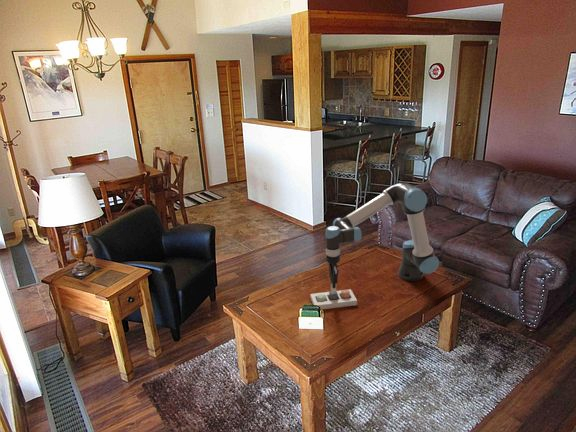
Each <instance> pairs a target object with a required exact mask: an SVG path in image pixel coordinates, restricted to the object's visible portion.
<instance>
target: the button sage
mask: <svg viewBox="0 0 576 432" xmlns="http://www.w3.org/2000/svg"><path fill="white" fill-rule="evenodd" d="M323 301H326V297H325V296H324V295H318V296H317V302H323Z"/></svg>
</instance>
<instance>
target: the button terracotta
mask: <svg viewBox="0 0 576 432" xmlns="http://www.w3.org/2000/svg"><path fill="white" fill-rule="evenodd" d="M341 290H342V291H341V299H347V298H349V297H350V292H349V291H348V290H349V289H341Z"/></svg>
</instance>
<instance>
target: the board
mask: <svg viewBox="0 0 576 432" xmlns="http://www.w3.org/2000/svg"><path fill="white" fill-rule="evenodd" d="M342 290H343V289H341V290H336V292H337V293H338V299H337V300H330V299H329V292H330V291H325V292H316V293H310V301H311V304H312V305H317V306H319V307H320V308H321V310H328V309H335V308H345V307H352V306H357V305H358V300H357V298H356V295H354V292H353V290H352V289H351V288H349V289H347V290H348V291H349V292H350V297H349V298H347V299H343V298H341V291H342ZM318 295H324V296H325V297H326V301H323V302H317V296H318Z"/></svg>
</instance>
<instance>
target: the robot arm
mask: <svg viewBox="0 0 576 432" xmlns="http://www.w3.org/2000/svg"><path fill="white" fill-rule="evenodd" d="M398 203H399V204H401V208H402V212H403V214H405V215H406V216H407V220H408V221H407V222H408V226H409V230H410V235H411V239H409V240H405V241H403V243H402V253H401V254H402V255H401V264H400V266H399V268H398V272H397V275H398V277H399V278H401V279H402V280H405V281H408V282H417V281H420V280H422V279H423V278H424V275H429V274H432V273H434V272H435V271H436V270H437V269H438V267H439V264H440V260H439V258H438V257H437V256H436V255H435V252H434V248H433V247H432V246H431V245H430V242H429V237H428V231H427V226H426V220H425V217H424V216H425V215H424V211H425V210H426V207H427V206H426V205H427V203H428V197H427V195H426V193H425V192H424V191H423V190H422V189H420V188H418V187H416V186H414V185H412V184H410V183H408V182H398V183H395V184H392V185H391V186H389V187H387V188H385V189H384V190H383V191H382V193H381V194H379V195H377V196H376V197H374V198H373V199H371V200H369V201H368V202H366V203H365V204H363V205H361V206H360V207H359V208H357V209H355V210H353V211H352V212H350V213H349V214H347V215H346V216H344V217H337V218H335V219H334V220H333V222H332V225H330V226H327V227H326V228H325V234H324V235H325V249H324V251H325V253H326V255H325V261H326V263H328V274H329V275H328V277H329V279H330V280H329V281H330V292H331V293H335V292H336V291H337V284H338V277H339V270H338V264H339V262H340V260H341V255H340V254H341V244H346V243H348V244H349V243H355V242H359V241H361V239H362V236H363V235H362V230H361V228H360V227H358V226H357V225H359V224H361V223H363V222H364V221H366V220H368V219H369V218H370V217H372V216H374V215H376V214H377V213H379V212H380V211H381V210H383V209H385V208H387V207H388V206H389V205H390V206H393V205H394V204H398Z"/></svg>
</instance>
